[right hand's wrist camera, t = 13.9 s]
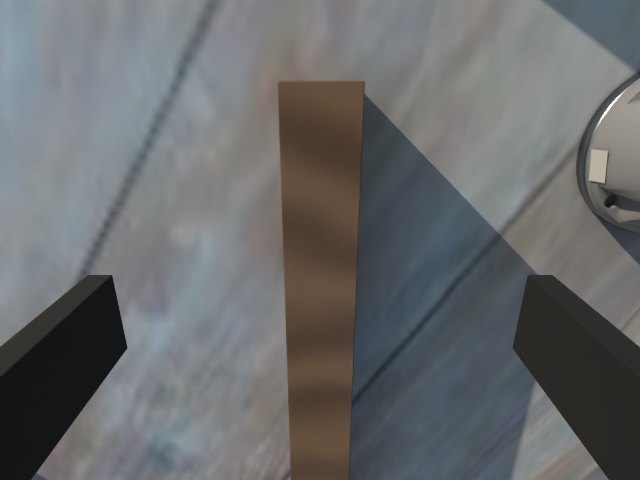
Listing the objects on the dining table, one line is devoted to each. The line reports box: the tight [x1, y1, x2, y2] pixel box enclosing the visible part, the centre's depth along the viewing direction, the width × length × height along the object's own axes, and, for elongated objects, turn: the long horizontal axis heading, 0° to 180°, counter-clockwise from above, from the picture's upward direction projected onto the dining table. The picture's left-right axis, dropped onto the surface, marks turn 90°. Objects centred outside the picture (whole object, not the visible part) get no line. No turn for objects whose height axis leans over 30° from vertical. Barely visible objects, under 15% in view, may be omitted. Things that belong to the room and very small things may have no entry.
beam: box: [278, 81, 365, 480], centre depth 43 cm, size 71×6×9 cm, turn 0°
